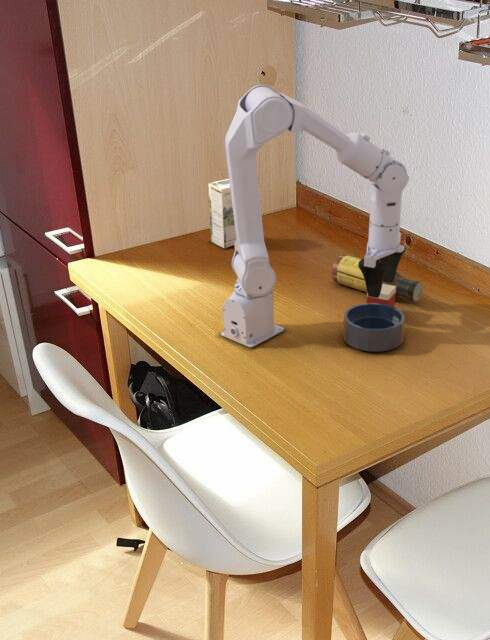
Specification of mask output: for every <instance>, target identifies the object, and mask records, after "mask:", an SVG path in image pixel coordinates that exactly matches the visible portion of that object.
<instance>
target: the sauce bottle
mask: <svg viewBox="0 0 490 640" xmlns="http://www.w3.org/2000/svg"><path fill="white" fill-rule="evenodd" d="M361 259H362V258H360V257H359V258H358V257H354V256H351V255H347V254H346V255H345V254H341V255H339V256H338V257H337V258H336V259H335V260H334V261H333V264H332V267H331V271H330V272H331V273H330V274H331V279H332V280H333V281H334V282H335V283H339V284H340V285H343V286H346V287H349V288H353V289H355V290H357V291H358V290H359V291H363V292H365V293H367V288H366V283H365V279H364V276H363V274H362V272H361V270H360V269H359V266H358V264H359V261H360V260H361ZM382 284H387V285H392V286H396V294H395V297H401V298H405V299H408V300H409V302H410V301H412V302H418V301H419V300H420V298H421V296H422V294H423V292H424V285H423V283H422V282H420V281H418V280H412V279H408V278H406V277H403V276H402V275H401V274H399V272H398V271H396V274H395V277H394V280H393V282H392V283H388V282H383V283H382Z"/></svg>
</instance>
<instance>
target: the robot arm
mask: <svg viewBox="0 0 490 640" xmlns="http://www.w3.org/2000/svg"><path fill="white" fill-rule="evenodd" d="M287 131H289V132H290V133H293V134H294V133H297V132H300V131H303V132H305V133H307V134H309V135H310V136H312V137H313V138H315V139H317V140H319V141H320V142H322V143H324V144H325V145H327V146H329V147H330V148H332V149H334V151H335V152H336V157H337V160H338V162H339V163H341V164H342V165H344V166H345V167H348V169H350V170H352V171H353V172H355V173H356V174H358V175H359V176H361V177H363V178H364V179H365V180H369V181H370V182H371V184H370V185H371V186H370V199H369V200H370V203H369V222H368V239H367V242H366V254H365V255H364V257H363V258H360V259H361V260H360V261H359V264H358V266H359V269H360V270H361V272H362V274H363V276H364V279H365V283H366V288H367V292H366V294H367V293H368V296H370V297H375V298H378V297H379V296H380V293H381V289H382V283H383V282H388V283H392V282H393V280H394V277H395V274H396V272H397V270H398V267H399V264H400V262H401V259H402V257H403V255H404V253H405V252H406V250H407V247H406V245H401V244H400V243H401V239H402V232H400V229H401V228H400V227H401V215H402V202H403V200H402V199H403V191H404V189H405V188H406V187H407V185H408V183H409V179H410V176H409V175H408V171H407V169H406V166H405V165H404V164H403V163H402V162H400V161H399V160H398V159H397V158H395V157H394V156H393V155H392V154H391V151H389V150H388V149H387V148H385V147H384V148H380V147H379V146H377V145H376V144H374V143H373V142H372V141H370V139H371V137H370V136H369V135H367V134H366V133H365V132H361V134H360V133H359V132H356V131H355V132H349V133H344V132H342V131H341V130H340V129H339V128H337V127H335V126H334V125H333V124H332V123H330V122H329V121H327V120H326V119H324V117H322V116H320V115H319V114H318V113H316V112H315V111H313V110H312V109H311V108H309V107H308V106H306V105H305V104H304V103H302V102H300V101H298V100H296V99H294V98H292V97H290V96H289V95H286V94H284V93H282V92H279V94H278V93H277V91H276V90H275V89H274V88H272V87H271V86H269V85H266V84H257V85H255V86H252V87H251V88H250V89H248V90H247V91H246V92H245V94H243V96H241V98H240V99H238V103H237V107H236V111H235V114H234V117H233V118H232V121H231V123H230V125H229V128H228V130H227V133H226V134H225V137H224V148H225V157H226V164H227V173H228V179H229V182H230V190H231V198H232V207H233V215H234V223H235V231H236V241H235V243H234V245H235V246H234V253H233V256H232V258H231V268H232V271H233V272H234V274H235V275H236V276H237V279H236V281H235V284H234V285H233V287H234V288H233V292H232V293H231V295H230V296H229V297H228V298H227V299H225V301H224V302H223V305H222V321H223V331H222V332H220V335H221V336H222V337H224V338H226V339H229V340H231V341H234V342H236V343H238V344H241V345H243V346H245V347H248V348H254V347H256V346H258V345H259V344H261V343H263V342H265V341H267V340H269V339H270V338H273V337H274V336H276V335H278V334H281V333H282V332H284V331H285V328H284V327H283V326H280V325H278V324H276V323H275V301H274V300H275V297H274V296H275V295H274V288H275V286H276V282H277V275H276V272H275V270H274V269H273V267H272V266H271V264H270V257H269V253H268V250H267V247H266V243H265V235H264V226H263V225H264V224H263V217H262V216H263V215H262V205H261V197H260V196H261V195H260V186H259V175H258V167H257V158H256V154H257V152H259V151H260V149H261V148H263V146H264V145H265V144H267V143H268V142H270V141H272V140H273V139H275V138H277V137H279V136H281V135H283V134H285V133H286V132H287Z"/></svg>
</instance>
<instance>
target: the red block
mask: <svg viewBox="0 0 490 640" xmlns="http://www.w3.org/2000/svg"><path fill="white" fill-rule="evenodd" d="M395 294H396V286H392V285H387V284H382V289H381V293H380V296H379V297H378V298H375V297H370V296H368V293H367V292H366V303H380V304H386V305H390V306H392V307H395V308H396V296H395Z"/></svg>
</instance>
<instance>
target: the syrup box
mask: <svg viewBox="0 0 490 640" xmlns="http://www.w3.org/2000/svg"><path fill="white" fill-rule="evenodd" d="M207 185H208V202H209V203H208V205H209V222H210V225H209V226H210V241H211V243H212V244H215V245H217V246H218V247H220V248H222V249H224V250H225V249H229V248H232V247H235V245H234V243H235V241H236V231H235V223H234V215H233V207H232V198H231V190H230V182H229V178H226V179H221V180H216V181H212V182H208V183H207Z"/></svg>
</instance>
